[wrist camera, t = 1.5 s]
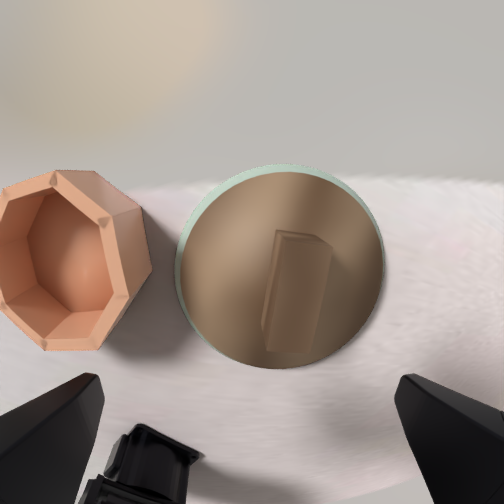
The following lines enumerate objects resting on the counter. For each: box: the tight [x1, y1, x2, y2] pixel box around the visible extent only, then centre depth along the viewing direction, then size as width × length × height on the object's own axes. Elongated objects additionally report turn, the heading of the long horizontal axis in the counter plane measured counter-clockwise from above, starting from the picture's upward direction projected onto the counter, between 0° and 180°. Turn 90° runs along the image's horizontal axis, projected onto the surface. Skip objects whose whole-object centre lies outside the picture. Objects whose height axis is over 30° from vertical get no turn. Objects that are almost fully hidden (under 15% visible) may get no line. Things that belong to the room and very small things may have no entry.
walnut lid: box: [180, 172, 383, 369], centre depth 17 cm, size 13×13×4 cm
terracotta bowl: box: [0, 170, 153, 351], centre depth 16 cm, size 10×10×5 cm
